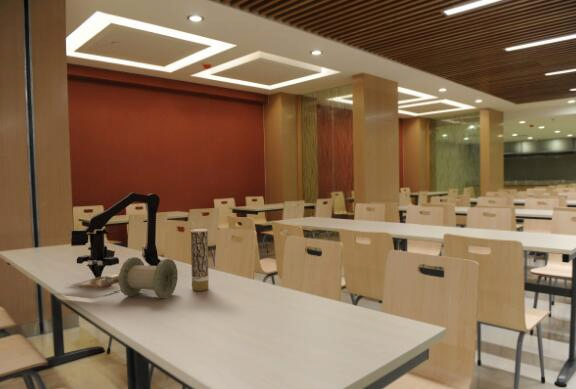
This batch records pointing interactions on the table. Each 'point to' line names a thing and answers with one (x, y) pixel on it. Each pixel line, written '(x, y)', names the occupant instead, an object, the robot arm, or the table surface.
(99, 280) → the maple plate
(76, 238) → the robot arm
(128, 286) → the spool
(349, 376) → the table surface
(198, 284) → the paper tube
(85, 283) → the board
